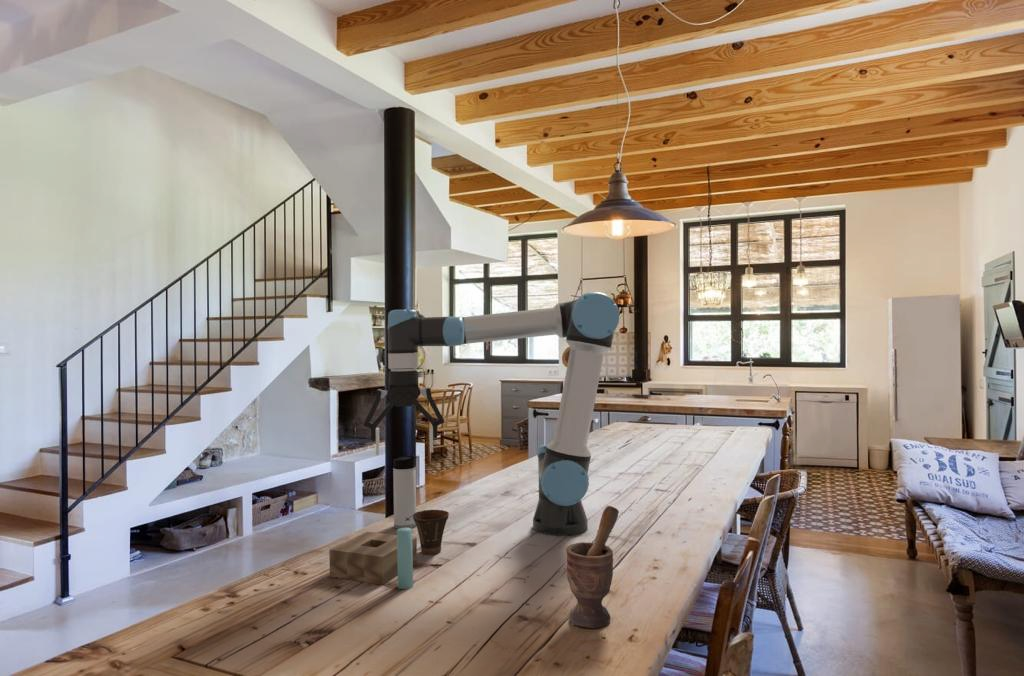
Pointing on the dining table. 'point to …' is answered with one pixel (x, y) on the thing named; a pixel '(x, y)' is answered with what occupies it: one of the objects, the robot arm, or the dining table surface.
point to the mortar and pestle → (591, 574)
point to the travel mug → (404, 491)
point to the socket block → (368, 558)
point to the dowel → (404, 558)
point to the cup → (430, 529)
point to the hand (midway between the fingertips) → (404, 453)
